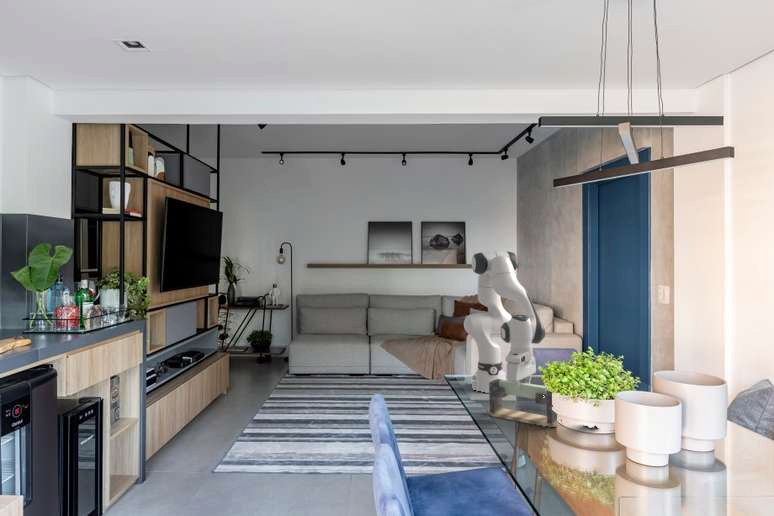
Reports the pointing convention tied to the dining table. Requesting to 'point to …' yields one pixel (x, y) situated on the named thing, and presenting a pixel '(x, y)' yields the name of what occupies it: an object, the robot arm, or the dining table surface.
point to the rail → (522, 389)
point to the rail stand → (497, 411)
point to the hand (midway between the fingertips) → (522, 388)
